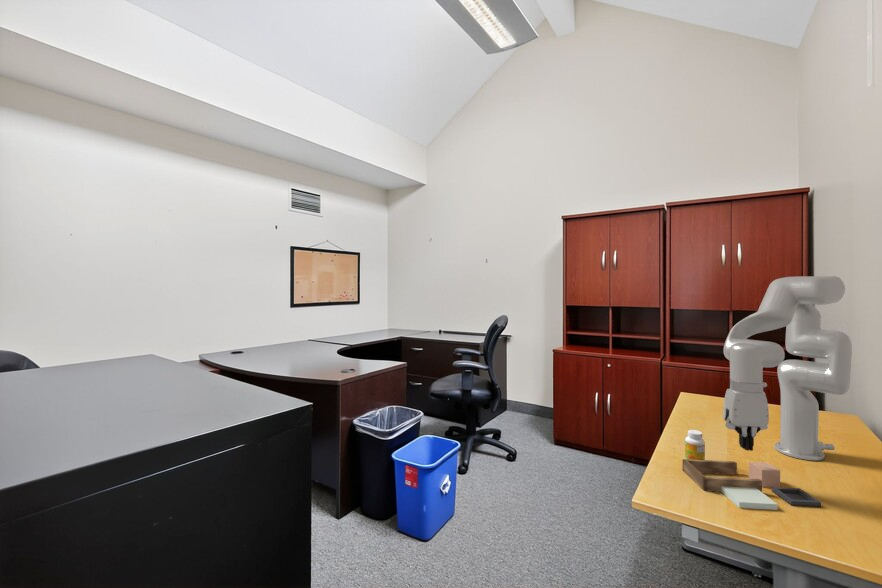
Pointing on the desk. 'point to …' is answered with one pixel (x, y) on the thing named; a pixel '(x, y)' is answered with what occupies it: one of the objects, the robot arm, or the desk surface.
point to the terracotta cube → (764, 474)
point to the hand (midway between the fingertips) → (746, 448)
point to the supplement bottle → (694, 446)
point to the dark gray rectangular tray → (796, 497)
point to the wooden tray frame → (714, 483)
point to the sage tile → (748, 498)
